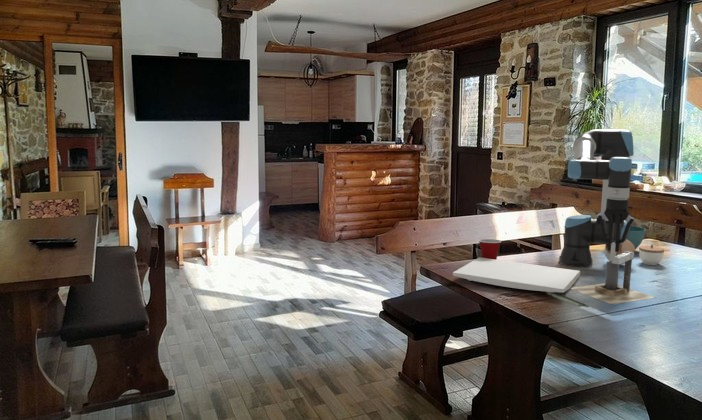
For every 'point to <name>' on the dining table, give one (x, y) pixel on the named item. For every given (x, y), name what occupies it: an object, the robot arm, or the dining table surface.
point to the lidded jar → (651, 254)
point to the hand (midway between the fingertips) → (612, 259)
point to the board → (518, 275)
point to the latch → (623, 257)
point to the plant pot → (636, 235)
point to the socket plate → (617, 295)
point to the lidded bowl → (621, 249)
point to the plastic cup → (489, 248)
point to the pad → (568, 300)
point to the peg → (611, 276)
